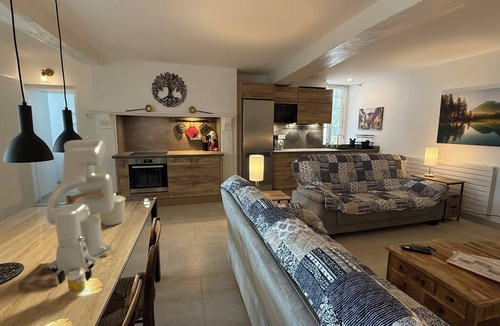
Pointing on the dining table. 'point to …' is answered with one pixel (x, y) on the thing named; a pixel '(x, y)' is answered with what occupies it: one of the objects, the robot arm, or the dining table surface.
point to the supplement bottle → (75, 281)
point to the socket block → (40, 278)
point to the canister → (114, 212)
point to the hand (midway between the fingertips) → (75, 280)
